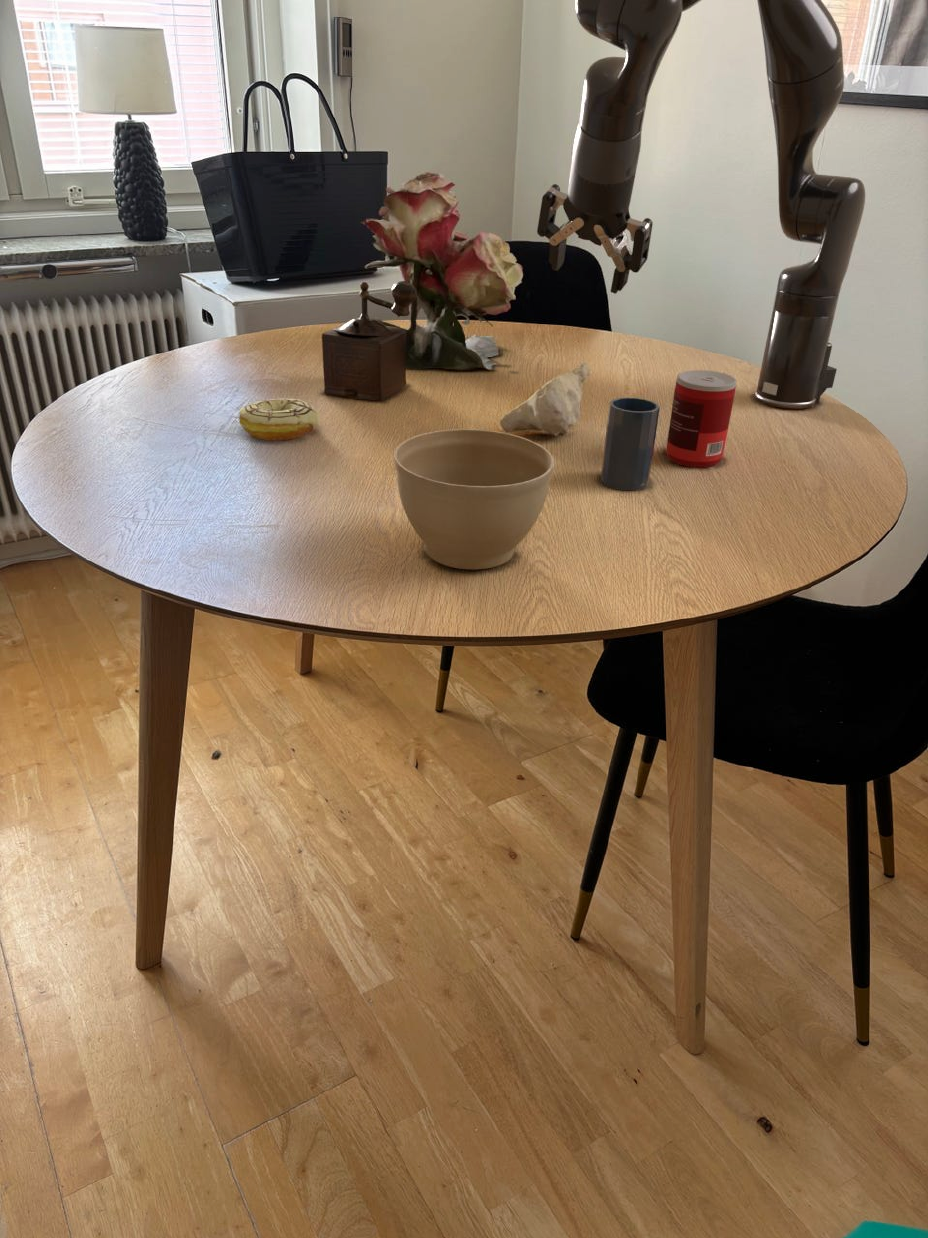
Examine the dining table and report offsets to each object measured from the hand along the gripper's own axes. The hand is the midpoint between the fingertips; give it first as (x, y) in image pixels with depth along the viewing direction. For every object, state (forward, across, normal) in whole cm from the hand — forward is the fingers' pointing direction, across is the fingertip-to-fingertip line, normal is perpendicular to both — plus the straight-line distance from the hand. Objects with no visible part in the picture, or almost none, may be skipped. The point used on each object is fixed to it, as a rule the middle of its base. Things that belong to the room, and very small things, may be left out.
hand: (586, 277), depth 118 cm
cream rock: (+22, 0, +7) cm, 23 cm away
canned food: (+16, -22, +6) cm, 28 cm away
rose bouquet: (+41, +32, -15) cm, 55 cm away
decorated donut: (+18, +31, +30) cm, 47 cm away
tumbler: (+11, -16, +19) cm, 27 cm away
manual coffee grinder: (+28, +29, +9) cm, 41 cm away
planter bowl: (+1, -9, +45) cm, 46 cm away
